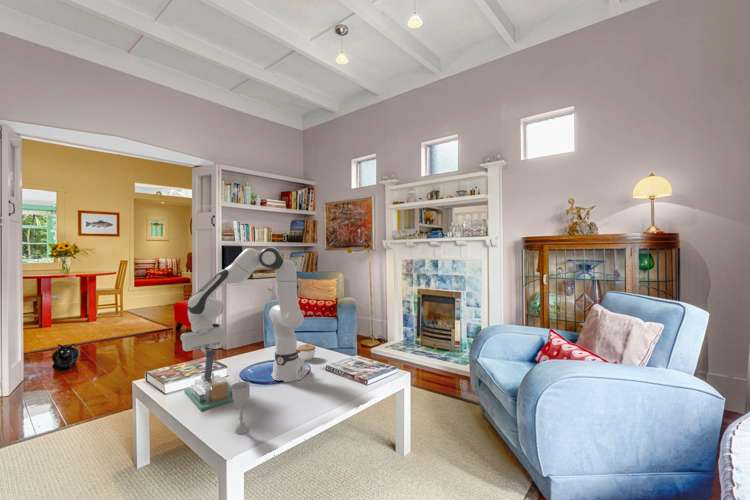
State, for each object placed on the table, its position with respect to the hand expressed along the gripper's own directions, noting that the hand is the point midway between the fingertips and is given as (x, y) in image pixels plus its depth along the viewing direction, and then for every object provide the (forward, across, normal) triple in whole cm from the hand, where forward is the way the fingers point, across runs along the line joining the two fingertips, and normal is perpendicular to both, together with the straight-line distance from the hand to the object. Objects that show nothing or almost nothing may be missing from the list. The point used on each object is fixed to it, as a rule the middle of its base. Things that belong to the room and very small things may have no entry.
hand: (208, 354), depth 173 cm
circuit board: (+17, 0, +10) cm, 19 cm away
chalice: (+46, -2, -19) cm, 49 cm away
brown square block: (+23, 0, +2) cm, 23 cm away
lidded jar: (+7, +61, +20) cm, 65 cm away
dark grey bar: (+5, 0, +3) cm, 5 cm away
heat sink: (+16, 0, +9) cm, 18 cm away
